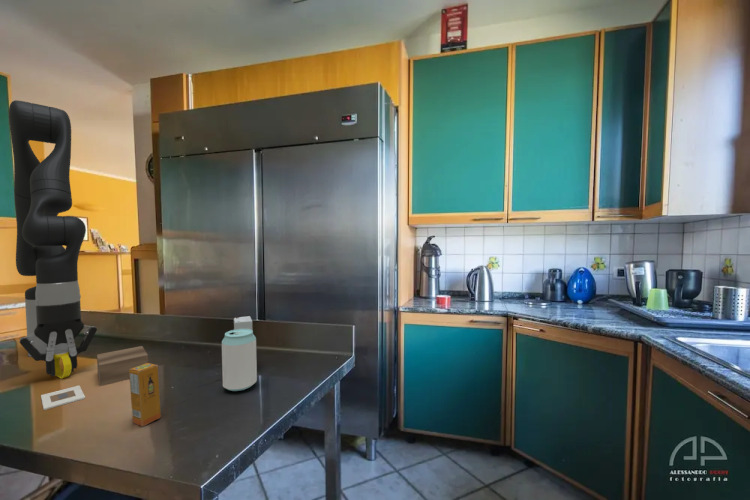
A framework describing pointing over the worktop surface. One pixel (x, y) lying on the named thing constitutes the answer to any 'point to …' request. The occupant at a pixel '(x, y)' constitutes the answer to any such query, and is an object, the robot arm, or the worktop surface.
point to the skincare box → (243, 323)
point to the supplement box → (145, 394)
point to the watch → (66, 363)
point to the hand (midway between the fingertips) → (62, 372)
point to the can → (239, 359)
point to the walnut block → (119, 364)
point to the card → (62, 397)
